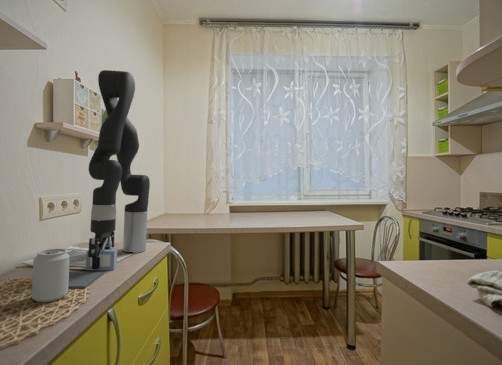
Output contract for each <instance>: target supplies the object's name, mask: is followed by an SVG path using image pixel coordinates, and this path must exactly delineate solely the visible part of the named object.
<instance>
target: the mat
mask: <svg viewBox="0 0 502 365" xmlns="http://www.w3.org/2000/svg"><path fill="white" fill-rule="evenodd" d="M104 274H105V272H104V271H69V282H68V289H87V288H88V287H89V286H90V285H92V284H93V283H95V281H97V280H98V279H99V278H101V277H102V276H103V275H104Z"/></svg>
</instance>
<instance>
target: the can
mask: <svg viewBox="0 0 502 365" xmlns="http://www.w3.org/2000/svg"><path fill="white" fill-rule="evenodd" d="M67 252H68V249H66V248H49V249H43V250H39V251H37V253H36V256H35V257H34V258H33V261H32V262H33V263H32V285H31V298H32V300H34V301H36V302H37V303H50V302H55V301H58V300H61V299H63V298H64V297H65V296H66V295H67V294H68V293H69V288H68V282H69V272H70V256H71V255H70V254H69V253H67Z"/></svg>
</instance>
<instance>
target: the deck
mask: <svg viewBox="0 0 502 365" xmlns="http://www.w3.org/2000/svg"><path fill="white" fill-rule="evenodd" d="M88 251H89V249H88V250H86V255H85V256H86V257H85V271H115V270H116V269H117V265H118V264H117V262H118V259H117V258H118V249H112V250H105V249H104V251H102V252H101V255H100V268H99V269H92V258H91V257H88ZM92 251H93V250H92ZM98 252H99V251H98Z"/></svg>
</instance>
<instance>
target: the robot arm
mask: <svg viewBox="0 0 502 365" xmlns="http://www.w3.org/2000/svg"><path fill="white" fill-rule="evenodd" d="M97 80H98V81H97V82H98V88H99V92H100V96H101V99H102V102H103V105H104V108H105V110H106V115H107V117H106V119H105V120H104V121H103V123H102V124H101V125H100V126H101V127H100V129H99V136H98V140H97V141H98V142H97V146H96V148H95V150H94V151H93V152H94V153H93V155H92V156H91V159H90V161H89V163H88V174H89V175H90V177H91V178H92V180H96V181H97V180H98V181H103V183H102V185H101V186H98V187H95V188H94V189H93V191H92V204H91V206H92V207H91V212H90V233H93V234H94V237H91V238H89V241H88V250H89V251H88V250H87V251H88V257H91V258H92V269H99V268H100V255H101V252H102V251H104V249H105V250H113V248H114V247H115V231H116V224H117V222H116V221H117V219H116V218H117V207H116V206H117V204H116V202H117V199H116V198H117V191H118V189H119V186H121V191H122V194H123V195H125V196H133V197H134V196H135V197H137V199H136V200H134V201H133V202H130V203H127V204H125V205H124V216H123V218H124V219H123V237H122V238H123V242H122V252H123V251H125V252H124V253H126V252H133V253H132V254H136V253H143V252H145V251H146V250H147V230H148V229H147V228H148V207H149V196H150V189H151V188H150V184H151V181H150V178H149V176H148V175H146V174H132V171H131V166H132V163H133V161H134V159H135V157H136V156H137V154H138V151H139V148H140V143H139V136H138V132H137V128H136V127H135V125H134V124H133V123H132V122H131V121H130V119H129V118H128V115H129V112H130V109H131V105H132V102H133V99H134V97H135V96H134V95H135V91H136V82H135V78H134V76H133V75H132V74H131V73H130V72H129V71H123V70H122V71H121V70H108V69H107V70H105V69H104V70H101V71H100V72H99V74H98V78H97ZM114 155H116V160H115V159H111V157H112V156H114ZM92 250H93V251H92ZM98 251H99V252H98Z"/></svg>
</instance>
